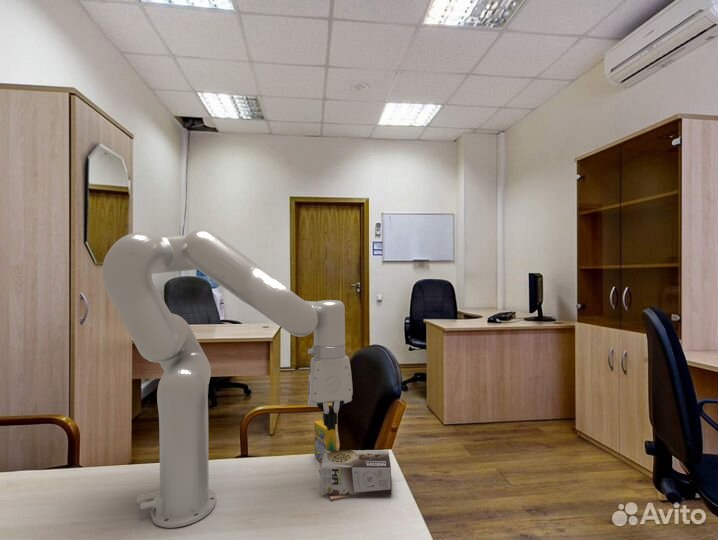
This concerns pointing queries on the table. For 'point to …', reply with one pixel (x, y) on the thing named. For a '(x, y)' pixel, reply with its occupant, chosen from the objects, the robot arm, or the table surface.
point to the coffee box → (356, 472)
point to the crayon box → (323, 439)
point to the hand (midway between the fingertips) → (330, 427)
